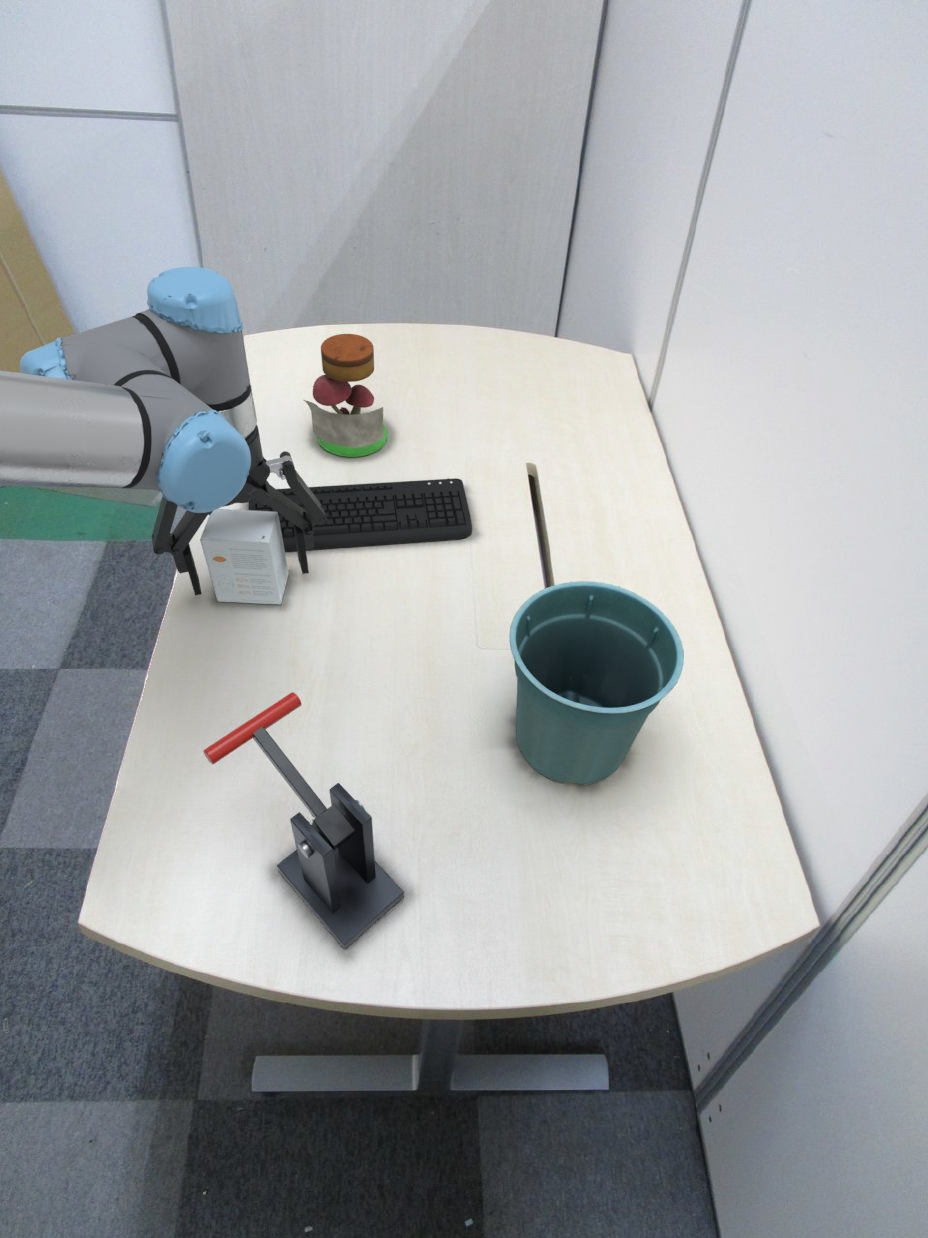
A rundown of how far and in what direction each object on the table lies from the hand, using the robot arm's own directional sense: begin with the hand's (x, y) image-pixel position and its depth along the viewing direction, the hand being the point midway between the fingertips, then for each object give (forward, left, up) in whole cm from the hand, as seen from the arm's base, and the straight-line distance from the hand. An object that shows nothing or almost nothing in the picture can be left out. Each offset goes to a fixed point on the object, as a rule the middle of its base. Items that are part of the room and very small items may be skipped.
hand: (251, 576), depth 96 cm
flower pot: (+29, -32, -2) cm, 43 cm away
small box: (0, 0, -2) cm, 2 cm away
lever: (-1, -36, +9) cm, 37 cm away
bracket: (+1, -41, -2) cm, 41 cm away
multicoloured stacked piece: (+19, +28, -2) cm, 34 cm away
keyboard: (+16, +9, -2) cm, 18 cm away
